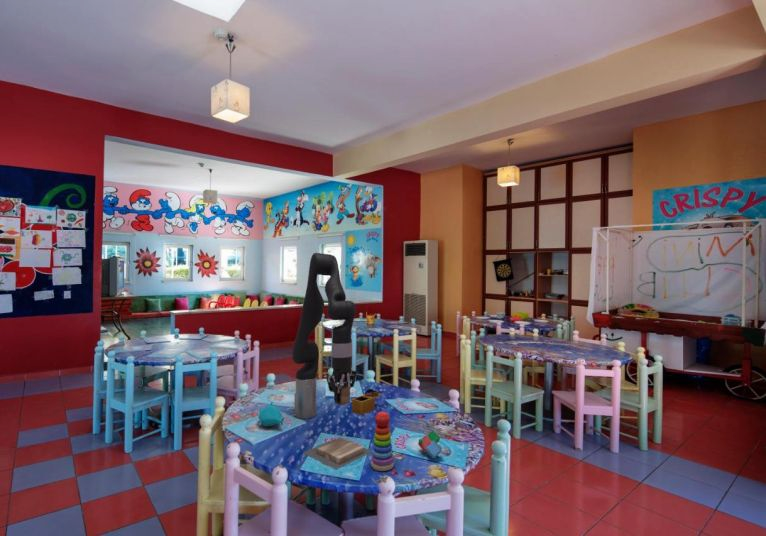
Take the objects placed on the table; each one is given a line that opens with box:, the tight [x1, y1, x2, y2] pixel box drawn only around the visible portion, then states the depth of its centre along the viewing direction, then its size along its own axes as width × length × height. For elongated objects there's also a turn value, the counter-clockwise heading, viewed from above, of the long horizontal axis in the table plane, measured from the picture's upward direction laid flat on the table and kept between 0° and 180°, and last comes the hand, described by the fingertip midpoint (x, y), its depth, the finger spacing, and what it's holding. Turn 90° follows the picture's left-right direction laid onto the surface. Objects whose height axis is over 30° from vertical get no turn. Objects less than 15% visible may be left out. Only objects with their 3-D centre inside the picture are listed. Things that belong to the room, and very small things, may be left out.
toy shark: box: [257, 401, 285, 427], centre depth 173 cm, size 10×18×11 cm, turn 49°
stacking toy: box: [370, 411, 395, 472], centre depth 140 cm, size 8×8×19 cm
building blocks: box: [417, 429, 442, 460], centre depth 150 cm, size 8×8×12 cm
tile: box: [317, 437, 365, 464], centre depth 148 cm, size 2×12×12 cm
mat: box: [302, 436, 372, 470], centre depth 149 cm, size 18×18×1 cm
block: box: [334, 384, 351, 406], centre depth 152 cm, size 4×4×6 cm
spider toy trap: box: [351, 388, 383, 416], centre depth 195 cm, size 6×15×9 cm, turn 140°
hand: (342, 400), depth 152 cm, fingers closed on block, 4 cm apart
